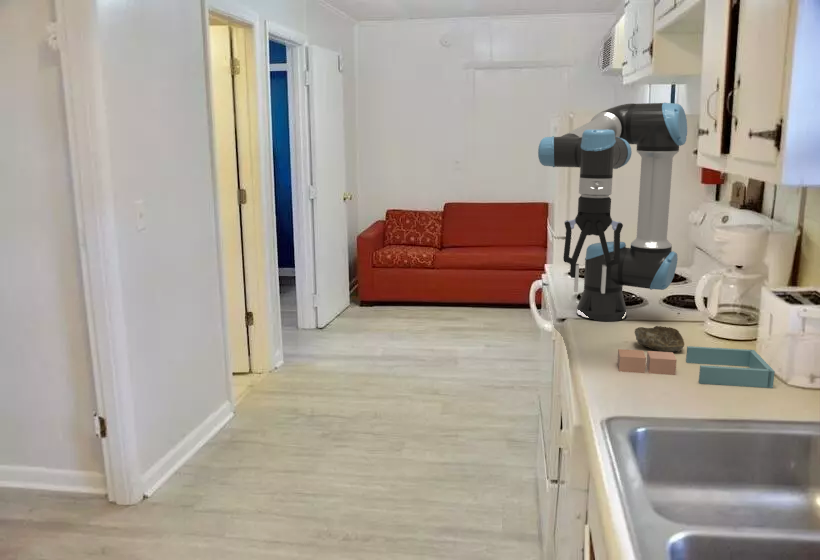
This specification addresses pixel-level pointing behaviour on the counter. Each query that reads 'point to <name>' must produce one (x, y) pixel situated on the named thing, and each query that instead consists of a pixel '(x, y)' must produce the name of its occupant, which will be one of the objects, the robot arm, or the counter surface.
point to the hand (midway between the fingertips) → (589, 291)
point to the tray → (750, 377)
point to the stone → (660, 338)
